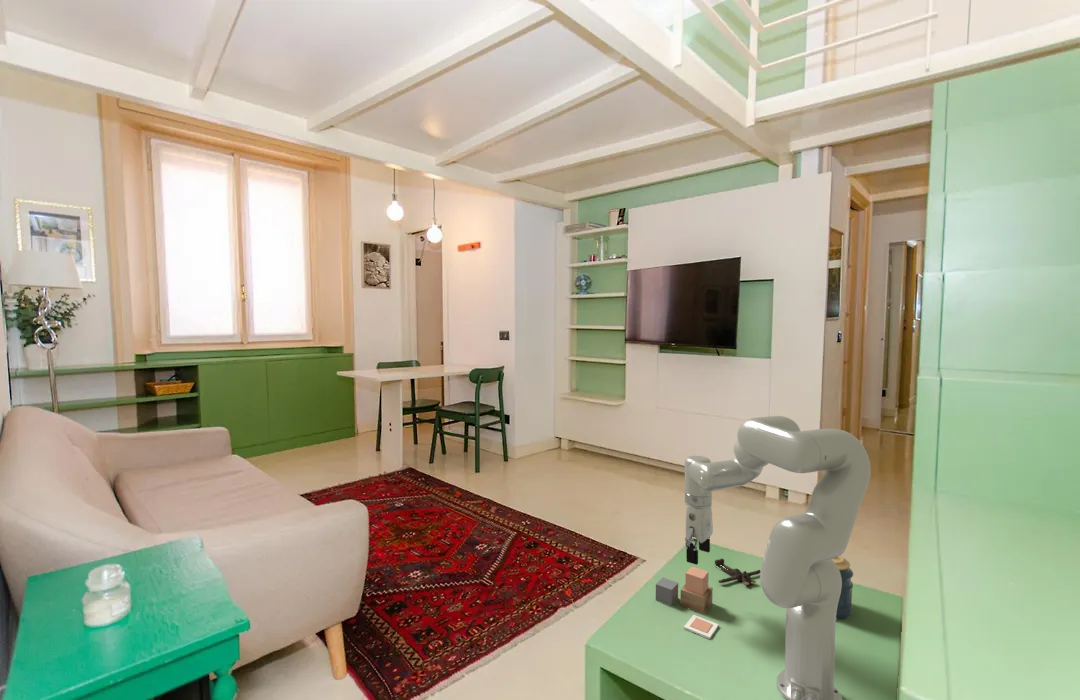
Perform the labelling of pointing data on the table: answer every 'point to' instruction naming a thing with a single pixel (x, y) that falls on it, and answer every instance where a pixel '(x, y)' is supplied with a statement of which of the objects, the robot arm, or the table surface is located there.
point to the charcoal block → (667, 591)
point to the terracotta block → (696, 581)
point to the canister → (844, 588)
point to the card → (701, 626)
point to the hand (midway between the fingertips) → (698, 556)
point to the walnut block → (696, 600)
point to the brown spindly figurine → (736, 573)
